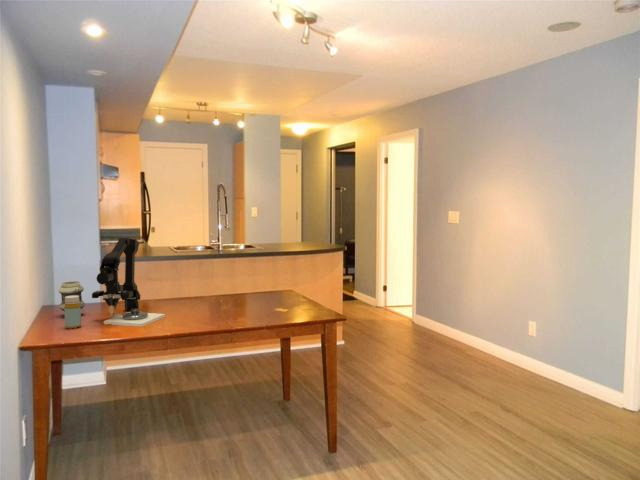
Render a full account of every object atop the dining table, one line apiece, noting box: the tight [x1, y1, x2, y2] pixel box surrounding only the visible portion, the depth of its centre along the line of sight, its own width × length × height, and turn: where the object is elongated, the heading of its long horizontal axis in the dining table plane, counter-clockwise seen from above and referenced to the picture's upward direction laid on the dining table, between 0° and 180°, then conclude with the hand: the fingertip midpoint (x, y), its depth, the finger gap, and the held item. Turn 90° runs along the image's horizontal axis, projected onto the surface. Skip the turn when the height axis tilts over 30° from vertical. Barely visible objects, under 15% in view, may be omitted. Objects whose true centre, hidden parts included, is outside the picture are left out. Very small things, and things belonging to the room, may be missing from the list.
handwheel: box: [108, 305, 149, 320], centre depth 251 cm, size 18×12×7 cm, turn 111°
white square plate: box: [103, 312, 166, 328], centre depth 253 cm, size 21×21×2 cm
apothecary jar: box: [58, 280, 86, 318], centre depth 262 cm, size 12×12×18 cm
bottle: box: [63, 295, 82, 329], centre depth 239 cm, size 7×7×15 cm
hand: (113, 311), depth 252 cm, fingers closed
